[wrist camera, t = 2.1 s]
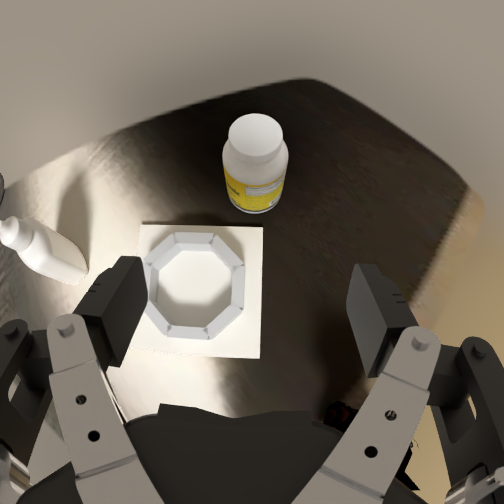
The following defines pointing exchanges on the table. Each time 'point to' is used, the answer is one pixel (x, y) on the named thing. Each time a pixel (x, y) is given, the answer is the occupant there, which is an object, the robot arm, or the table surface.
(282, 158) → the supplement bottle
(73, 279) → the eye dropper bottle
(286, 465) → the robot arm
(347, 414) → the cat figurine
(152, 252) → the barrel socket
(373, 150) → the table surface
